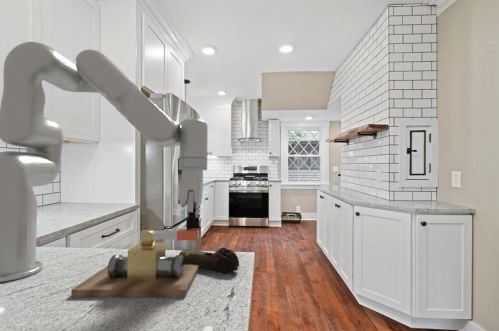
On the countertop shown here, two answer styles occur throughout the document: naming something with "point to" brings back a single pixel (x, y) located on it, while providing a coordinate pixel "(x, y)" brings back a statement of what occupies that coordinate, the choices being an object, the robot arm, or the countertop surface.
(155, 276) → the pipe and valve
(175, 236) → the valve lever
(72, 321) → the countertop surface
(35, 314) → the countertop surface
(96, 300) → the countertop surface
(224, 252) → the olive brown elongated lump
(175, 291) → the mounting board
